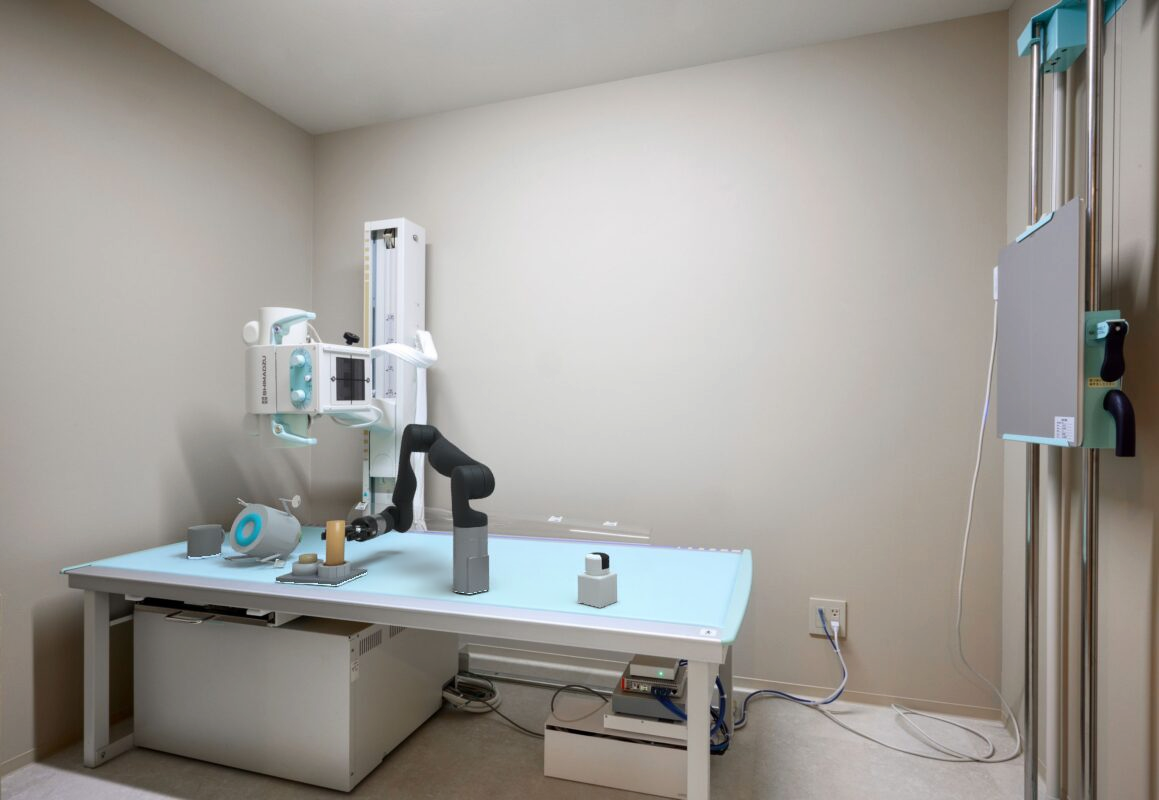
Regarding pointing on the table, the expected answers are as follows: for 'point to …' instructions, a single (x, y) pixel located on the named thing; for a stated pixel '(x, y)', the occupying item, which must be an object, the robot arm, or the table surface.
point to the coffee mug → (204, 540)
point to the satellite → (265, 532)
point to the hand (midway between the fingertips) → (334, 537)
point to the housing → (319, 571)
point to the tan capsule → (335, 542)
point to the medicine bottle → (597, 581)
